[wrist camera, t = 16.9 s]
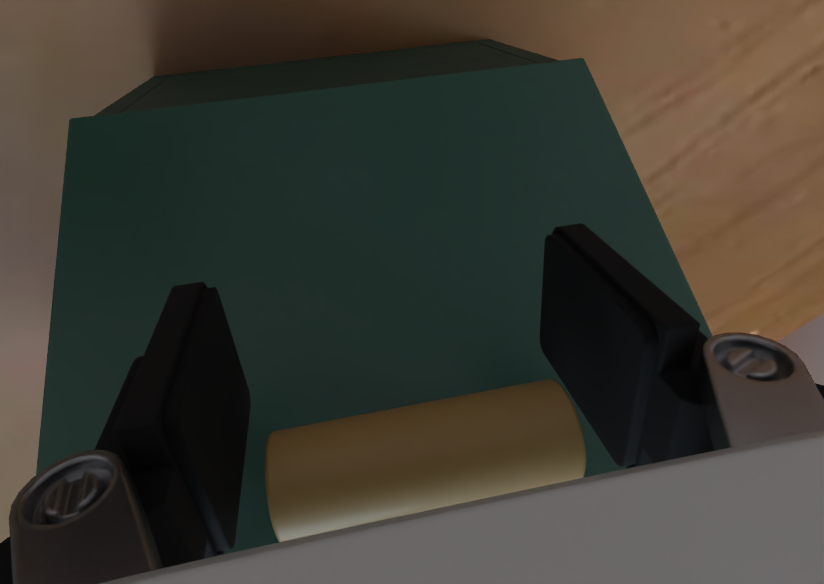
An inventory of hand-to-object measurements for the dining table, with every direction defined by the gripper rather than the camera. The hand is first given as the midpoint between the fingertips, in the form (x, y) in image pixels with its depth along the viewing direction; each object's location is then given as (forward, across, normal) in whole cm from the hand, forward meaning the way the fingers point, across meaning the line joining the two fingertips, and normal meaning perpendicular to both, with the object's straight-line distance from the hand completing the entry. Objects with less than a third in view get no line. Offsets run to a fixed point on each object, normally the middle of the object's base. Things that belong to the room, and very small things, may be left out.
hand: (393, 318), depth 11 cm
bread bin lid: (+4, 0, +2) cm, 4 cm away
